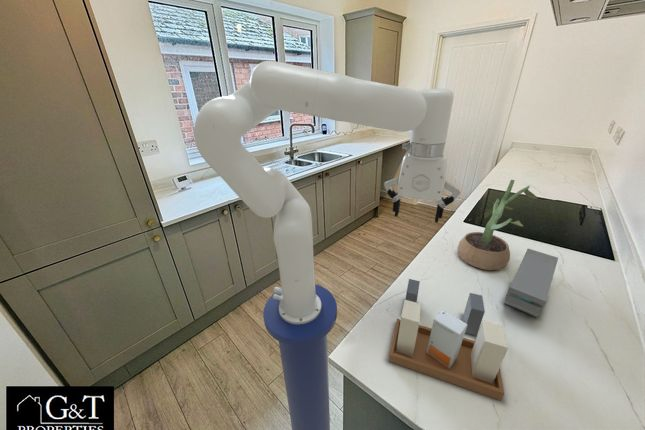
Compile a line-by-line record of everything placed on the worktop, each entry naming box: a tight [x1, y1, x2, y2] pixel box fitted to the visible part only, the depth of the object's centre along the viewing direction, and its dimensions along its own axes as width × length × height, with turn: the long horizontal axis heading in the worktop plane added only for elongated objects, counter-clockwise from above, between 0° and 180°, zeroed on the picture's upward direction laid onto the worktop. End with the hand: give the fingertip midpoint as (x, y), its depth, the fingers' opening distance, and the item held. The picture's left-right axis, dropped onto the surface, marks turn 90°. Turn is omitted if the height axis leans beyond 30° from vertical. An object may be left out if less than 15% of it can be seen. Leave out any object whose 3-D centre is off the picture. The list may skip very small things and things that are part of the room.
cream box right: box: [471, 319, 509, 384], centre depth 58 cm, size 4×6×12 cm, turn 157°
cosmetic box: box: [426, 309, 468, 369], centre depth 61 cm, size 6×4×12 cm
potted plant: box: [457, 179, 538, 271], centre depth 94 cm, size 22×18×30 cm
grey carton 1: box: [404, 278, 421, 303], centre depth 76 cm, size 3×6×9 cm, turn 157°
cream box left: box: [396, 299, 422, 357], centre depth 64 cm, size 4×6×12 cm, turn 157°
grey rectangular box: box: [504, 248, 559, 318], centre depth 78 cm, size 25×8×11 cm, turn 136°
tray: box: [388, 318, 505, 401], centre depth 64 cm, size 24×12×3 cm, turn 67°
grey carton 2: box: [462, 292, 486, 337], centre depth 70 cm, size 3×6×9 cm, turn 157°
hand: (416, 217), depth 66 cm, fingers open, 9 cm apart
